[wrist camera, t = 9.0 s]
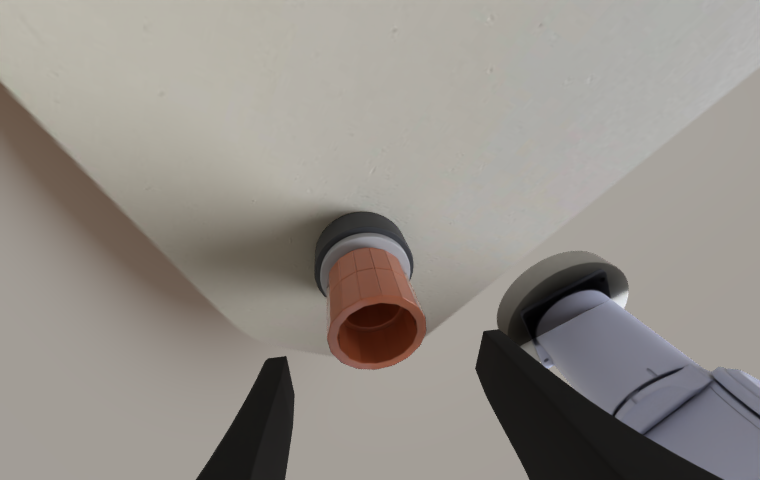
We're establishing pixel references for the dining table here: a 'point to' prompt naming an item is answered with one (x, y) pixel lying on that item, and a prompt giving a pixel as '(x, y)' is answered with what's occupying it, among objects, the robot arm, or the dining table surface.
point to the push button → (358, 242)
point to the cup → (372, 310)
